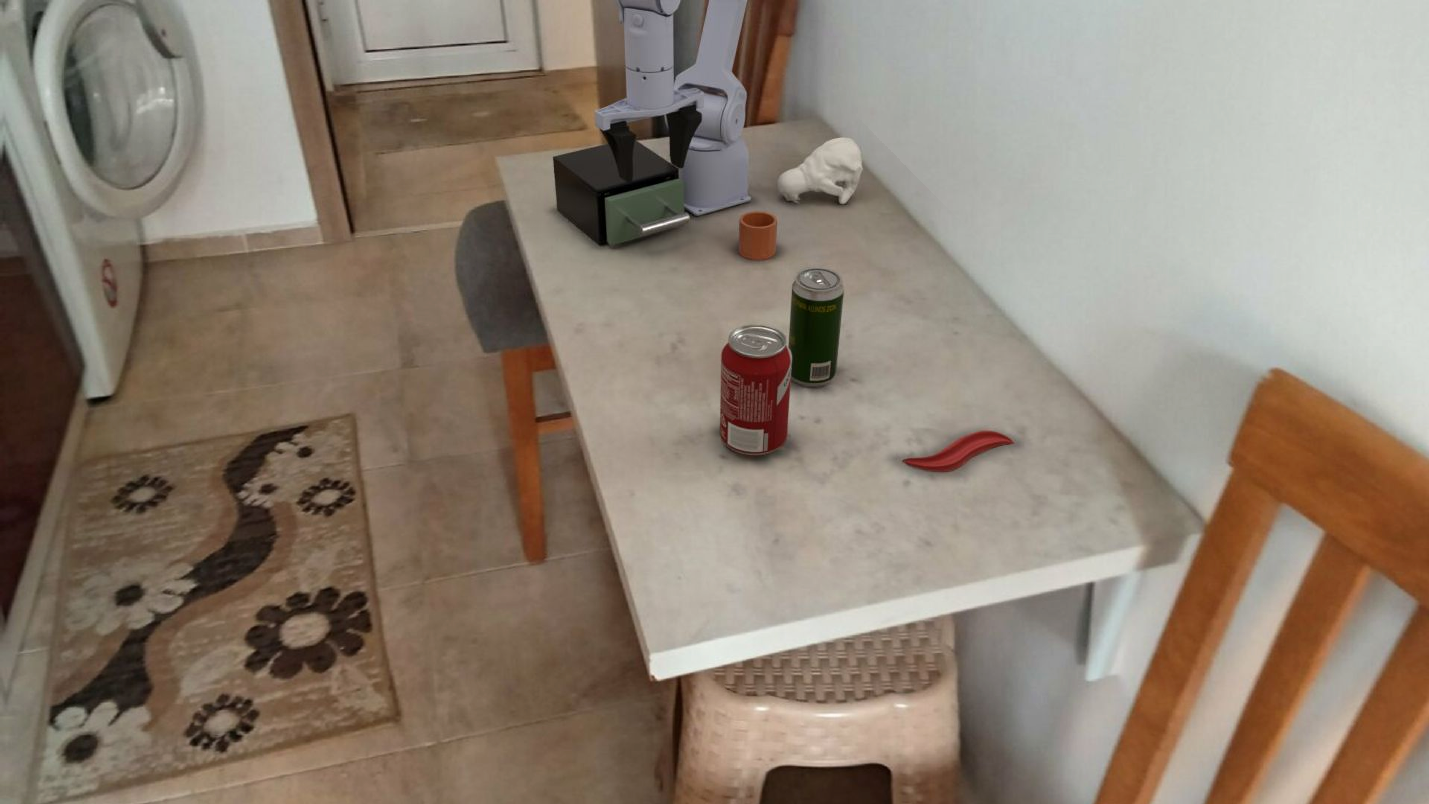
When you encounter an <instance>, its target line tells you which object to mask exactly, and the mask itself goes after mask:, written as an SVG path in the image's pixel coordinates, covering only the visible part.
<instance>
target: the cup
mask: <svg viewBox="0 0 1429 804" xmlns="http://www.w3.org/2000/svg"><path fill="white" fill-rule="evenodd" d="M777 233H778V219H777V217H776V216H775V215H774V214H772V213H770V212H768V211H767V212H766V211H760V210H759V211H757V210H754V211H748V212H745V213H743V214H741V215H740V217H739V219H738V253H739V255H741V256H742V257H743V258H745V259H747V260H752V261H763V260H768V259H770V258H772V257H774V256H775V254H776V250H777V236H778V235H777Z"/></svg>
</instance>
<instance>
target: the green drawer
mask: <svg viewBox="0 0 1429 804" xmlns="http://www.w3.org/2000/svg"><path fill="white" fill-rule="evenodd" d="M601 198H602V216H603V233H604V234H605V235H607V242H608V244H609V245H610V246H615V245H619V244H622V243H626V242H628V241H632V240H636V239H639V238H643V237H646V236H649V235H653V234H657V233H660V232H664V231H667V230H671V229H674V228H677V227H681V226H684V225H686V224H689V223H690V221H691V220H690V219H691V218H690V215H689V213H688V212H687V211H686V212H685V208H684V181H682V180H681V179H675V180H671V181H670V177H669V176H667V177H663V178H659V179H655V180H651V181H647V182H643V183H640V184H636V185H632V186H628V187H624V188H620V189H617V190H613V191H609V192H605V193H601Z"/></svg>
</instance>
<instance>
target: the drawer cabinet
mask: <svg viewBox="0 0 1429 804" xmlns="http://www.w3.org/2000/svg"><path fill="white" fill-rule="evenodd" d="M552 163H553V176H554V187H555V189H554V190H555V200H556V211H557V212H558V213H560V214H561V215H562V216H563V217H564V218H566V219H567V220H568V221H569V222H570V223H572V224H573V225H574V226H575V227H576V228H577V229H579V230H580V231H581V232H583V233H584V234H585V235H586V236H587V237H589V239H591V240H592V241H593V242H595V243H596V244H597V245H598V246H604V245H607V244H609V243H608V242H607V235H605V234H604V233H603V216H602V198H601V193H605V192H609V191H613V190H617V189H620V188H624V187H628V186H632V185H636V184H640V183H643V182H647V181H651V180H655V179H659V178H663V177H667V176H669V177H670V181H671V180H675V179H679V168H678V167H676V166H675V165H673V164H671V161H668V160H667V159H665V158H663V157H662V156H660V155H659V154H658V153H656V152H654V151H653V150H652V149H650V148H648V147H647V146H645V145H644V144H642V143H641V142H639V141H638V140H636V139H635V143H634V149H633V179H632V181H631V182H626V181H625V180H623V179H622V178H620V177H619V172H618V168H617V165H616V162H615V159H614V156H613V153H612V151H611V149H610V146H609V144H608V143H605V144H600V145H597V146H592V147H588V148H583V149H579V150H575V151H571V152H567V153H563V154H558V155H554V156H552Z"/></svg>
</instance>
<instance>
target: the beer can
mask: <svg viewBox="0 0 1429 804" xmlns="http://www.w3.org/2000/svg"><path fill="white" fill-rule="evenodd" d="M844 294H845V288H844V284H843V277H842V276H841V275H840V273H838V272H836V271H835V270H832V269H829V268H825V267H807V268H804V269H802V270H800V271H798V272H796V274H795V276H794V281H793V283H792V284H791V297H790V315H789V330H788V344H787V346H788V348H789V349H790V351H791V353H792V368H791V380H792V381H793V382H794V383H795V384H797V385H799V386H802V387H806V388H820V387H825V386H826V385H829V383H831V382H832V381H833V379H834V378H835V376H836V373H837V368H838V358H839V349H840V347H839V346H840V336H841V325H842V314H843V303H844V296H845V295H844Z"/></svg>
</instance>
